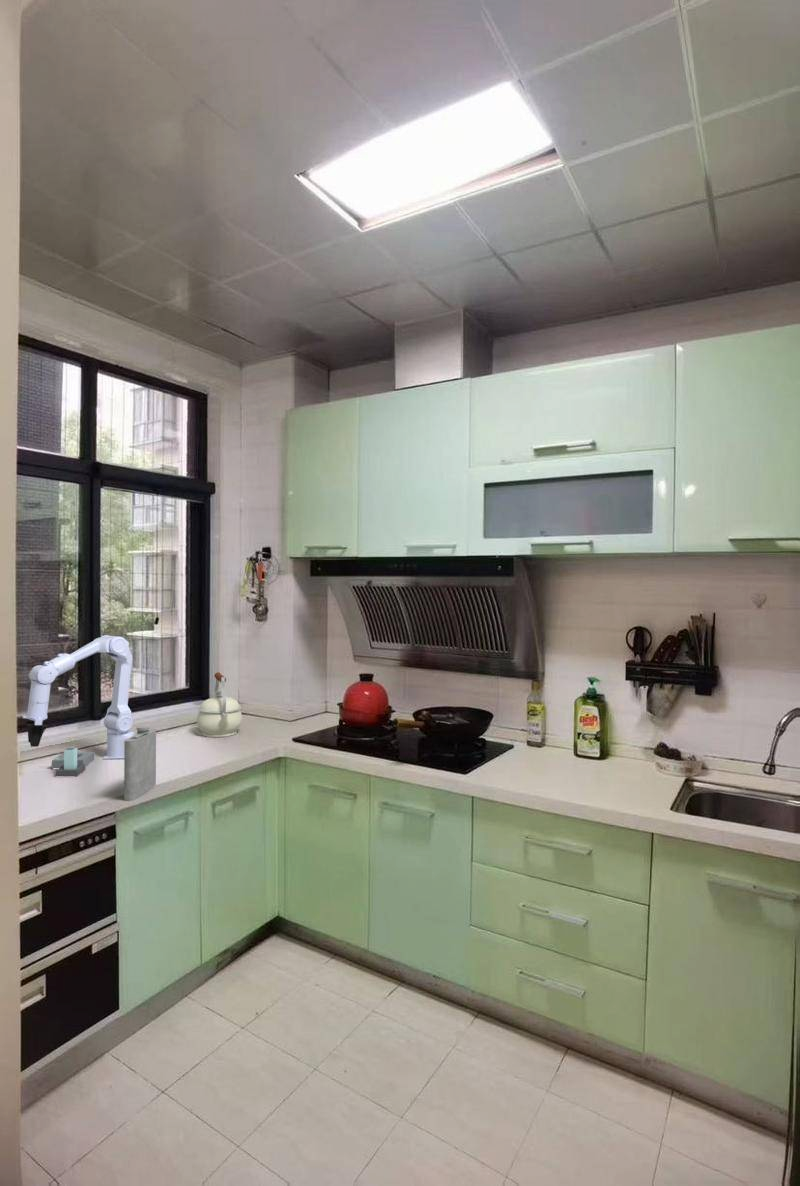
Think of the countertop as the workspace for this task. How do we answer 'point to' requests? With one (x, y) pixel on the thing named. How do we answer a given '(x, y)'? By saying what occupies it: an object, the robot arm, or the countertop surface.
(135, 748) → the hip flask
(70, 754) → the plug
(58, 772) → the grey square base plate
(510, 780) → the countertop surface
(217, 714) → the kettle
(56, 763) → the socket
